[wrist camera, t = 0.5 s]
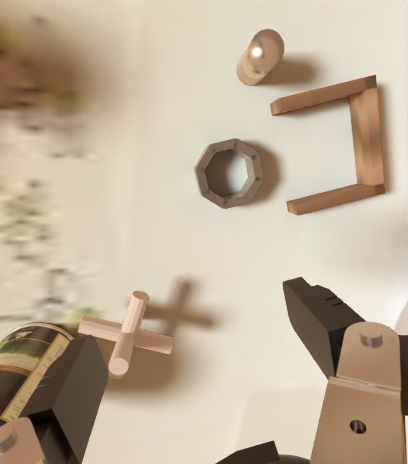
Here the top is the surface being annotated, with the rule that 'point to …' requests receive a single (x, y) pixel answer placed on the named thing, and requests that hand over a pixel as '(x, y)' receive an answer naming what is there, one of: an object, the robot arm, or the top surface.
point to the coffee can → (26, 363)
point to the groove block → (363, 138)
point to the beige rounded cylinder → (260, 57)
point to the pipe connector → (126, 335)
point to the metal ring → (252, 168)
